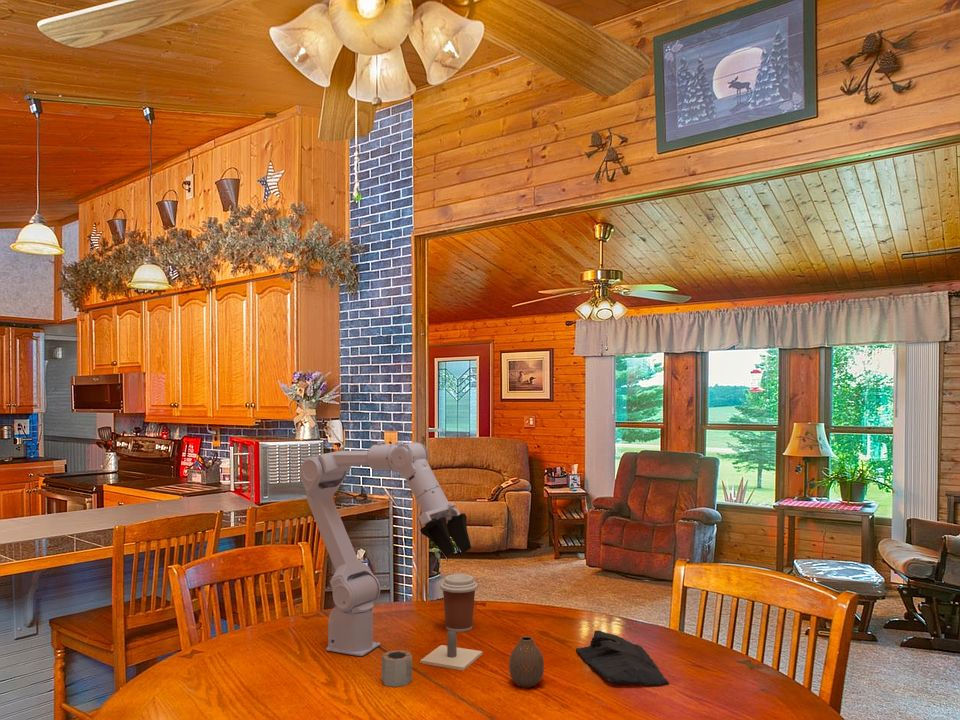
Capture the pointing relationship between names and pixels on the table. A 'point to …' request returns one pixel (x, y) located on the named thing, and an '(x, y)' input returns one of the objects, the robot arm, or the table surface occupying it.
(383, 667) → the collar
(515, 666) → the vase
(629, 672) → the crumpled black cloth
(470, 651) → the post stand
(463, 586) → the coffee cup
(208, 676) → the table surface
